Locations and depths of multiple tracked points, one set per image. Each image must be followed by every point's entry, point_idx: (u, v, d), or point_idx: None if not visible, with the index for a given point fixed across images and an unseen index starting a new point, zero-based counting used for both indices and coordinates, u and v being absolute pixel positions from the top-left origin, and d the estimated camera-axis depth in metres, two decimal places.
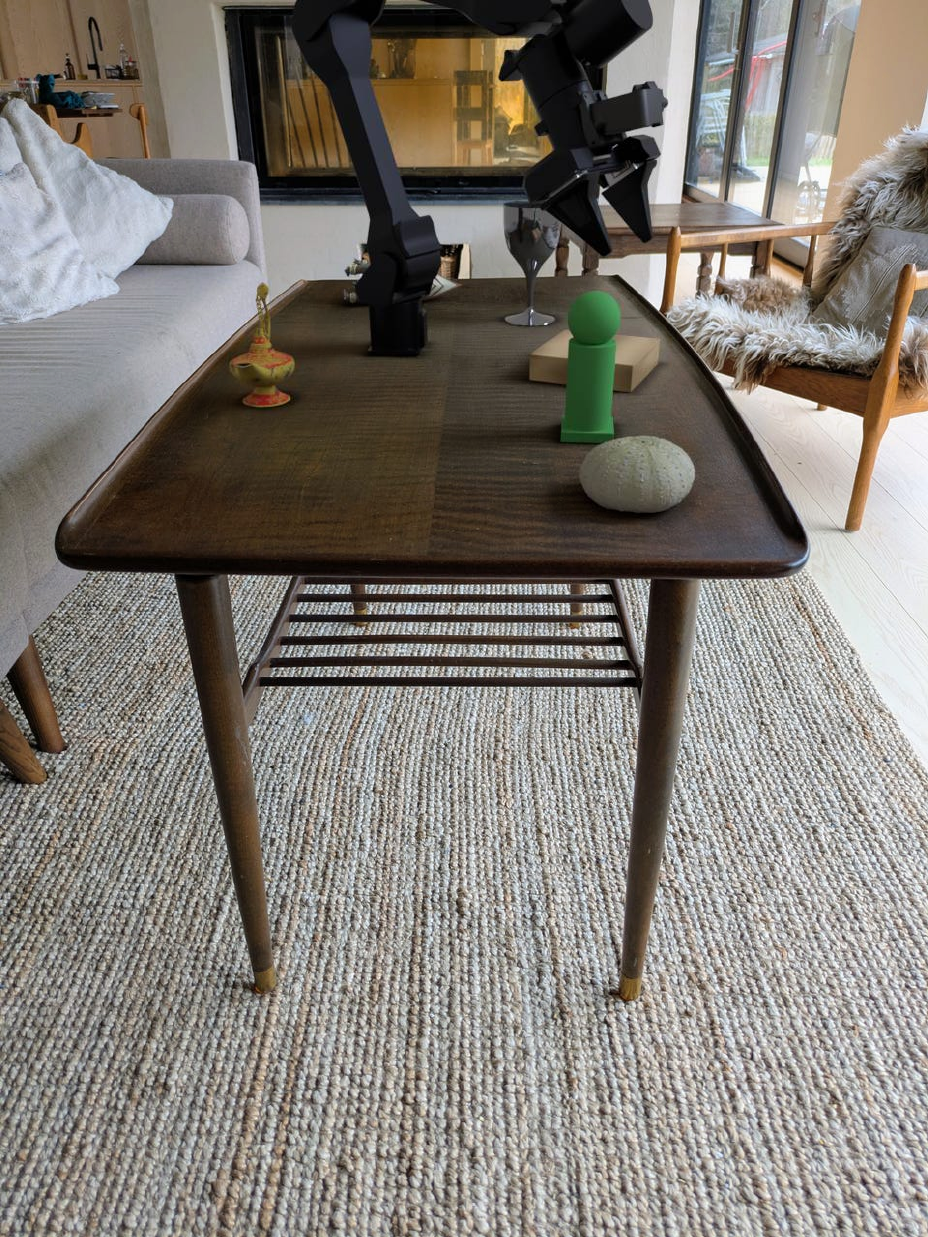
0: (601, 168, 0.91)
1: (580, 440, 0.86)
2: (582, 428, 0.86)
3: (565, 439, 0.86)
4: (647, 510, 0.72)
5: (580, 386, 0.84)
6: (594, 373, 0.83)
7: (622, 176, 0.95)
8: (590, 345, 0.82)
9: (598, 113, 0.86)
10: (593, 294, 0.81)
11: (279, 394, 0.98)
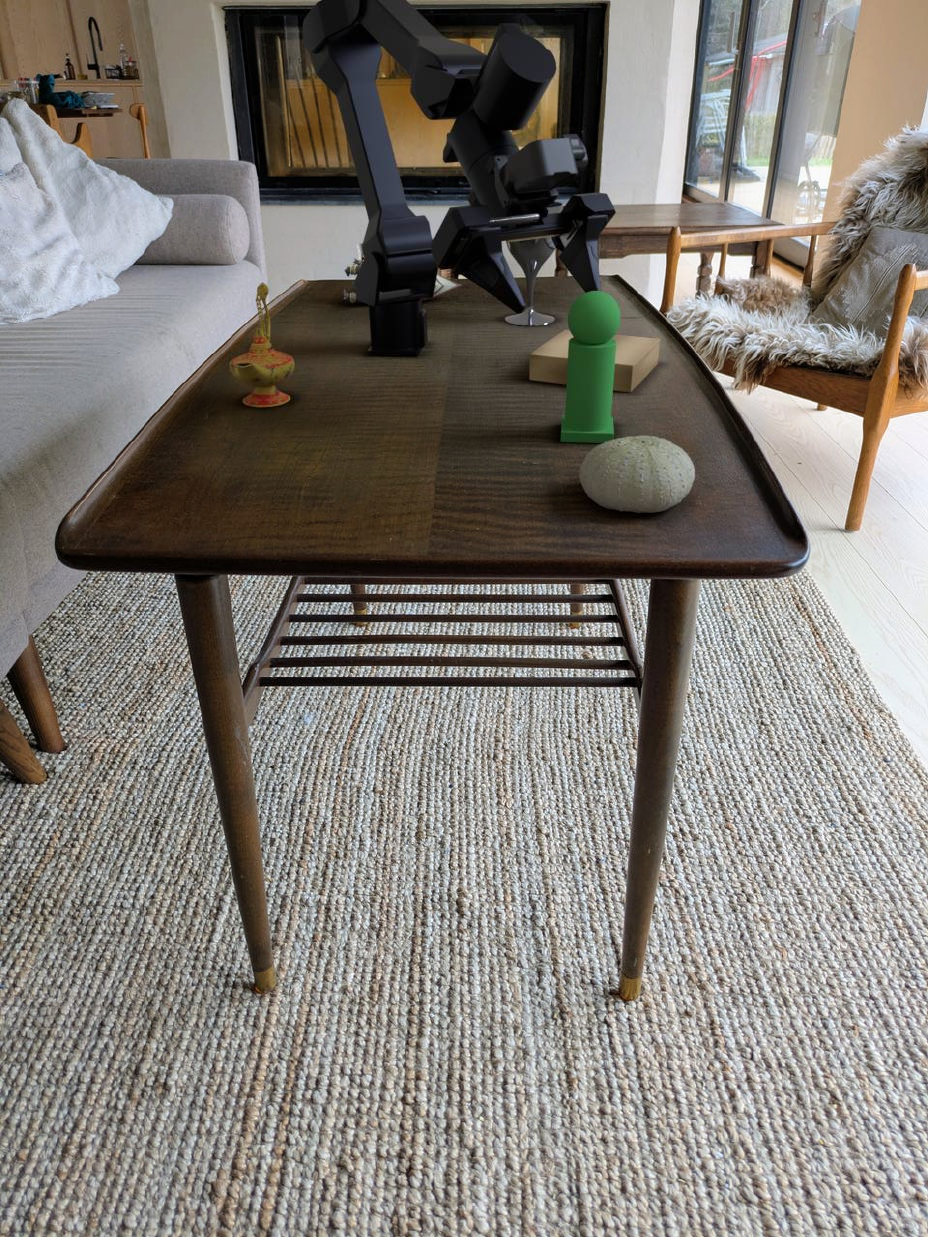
0: (532, 229, 0.87)
1: (580, 440, 0.86)
2: (582, 428, 0.86)
3: (565, 439, 0.86)
4: (647, 510, 0.72)
5: (580, 386, 0.84)
6: (594, 373, 0.83)
7: (573, 236, 0.90)
8: (590, 345, 0.82)
9: (506, 172, 0.83)
10: (593, 294, 0.81)
11: (279, 394, 0.98)
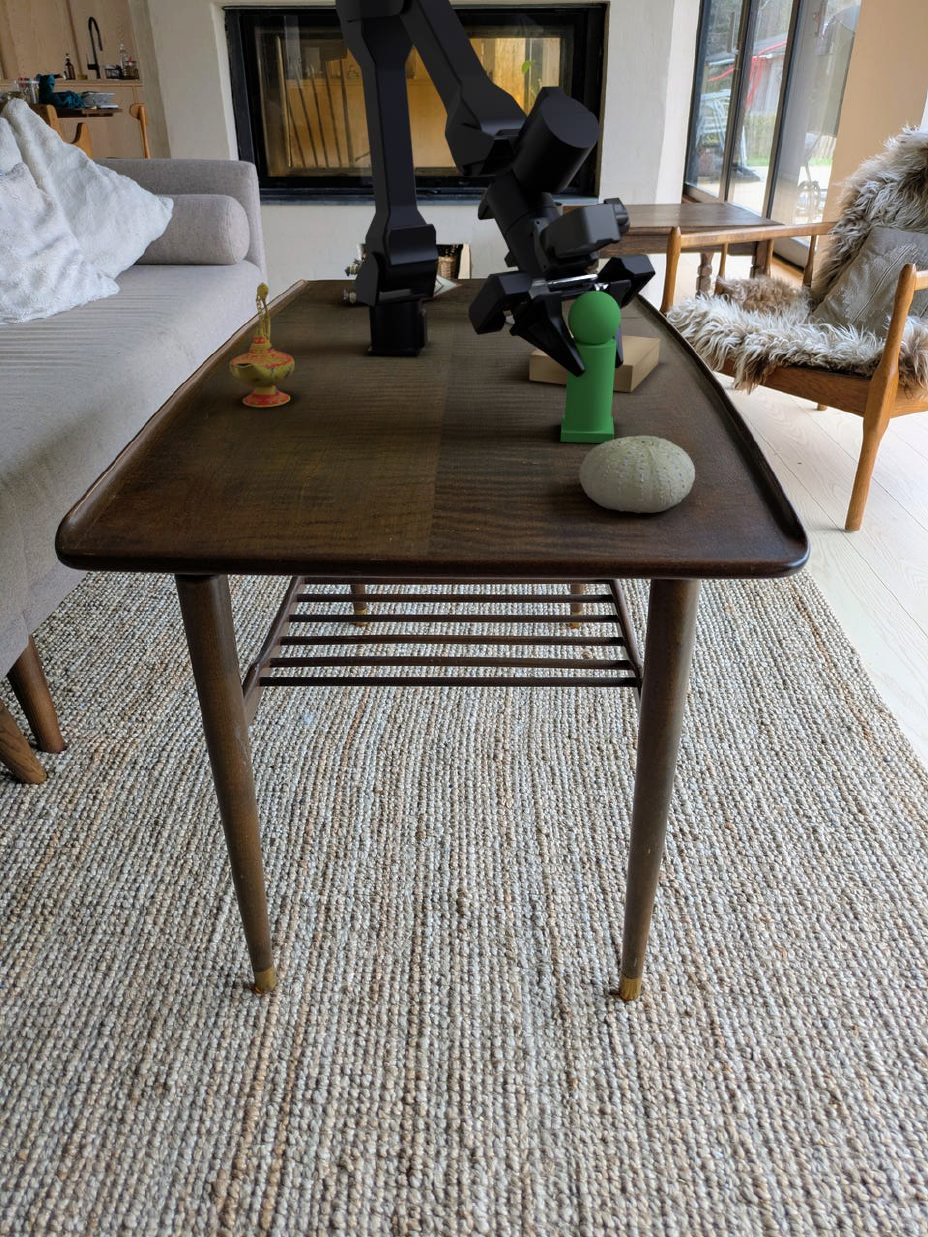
0: (571, 292, 0.85)
1: (580, 440, 0.86)
2: (582, 428, 0.86)
3: (565, 439, 0.86)
4: (647, 510, 0.72)
5: (580, 386, 0.84)
6: (594, 373, 0.83)
7: None
8: (590, 345, 0.82)
9: (547, 237, 0.81)
10: (593, 294, 0.81)
11: (279, 394, 0.98)
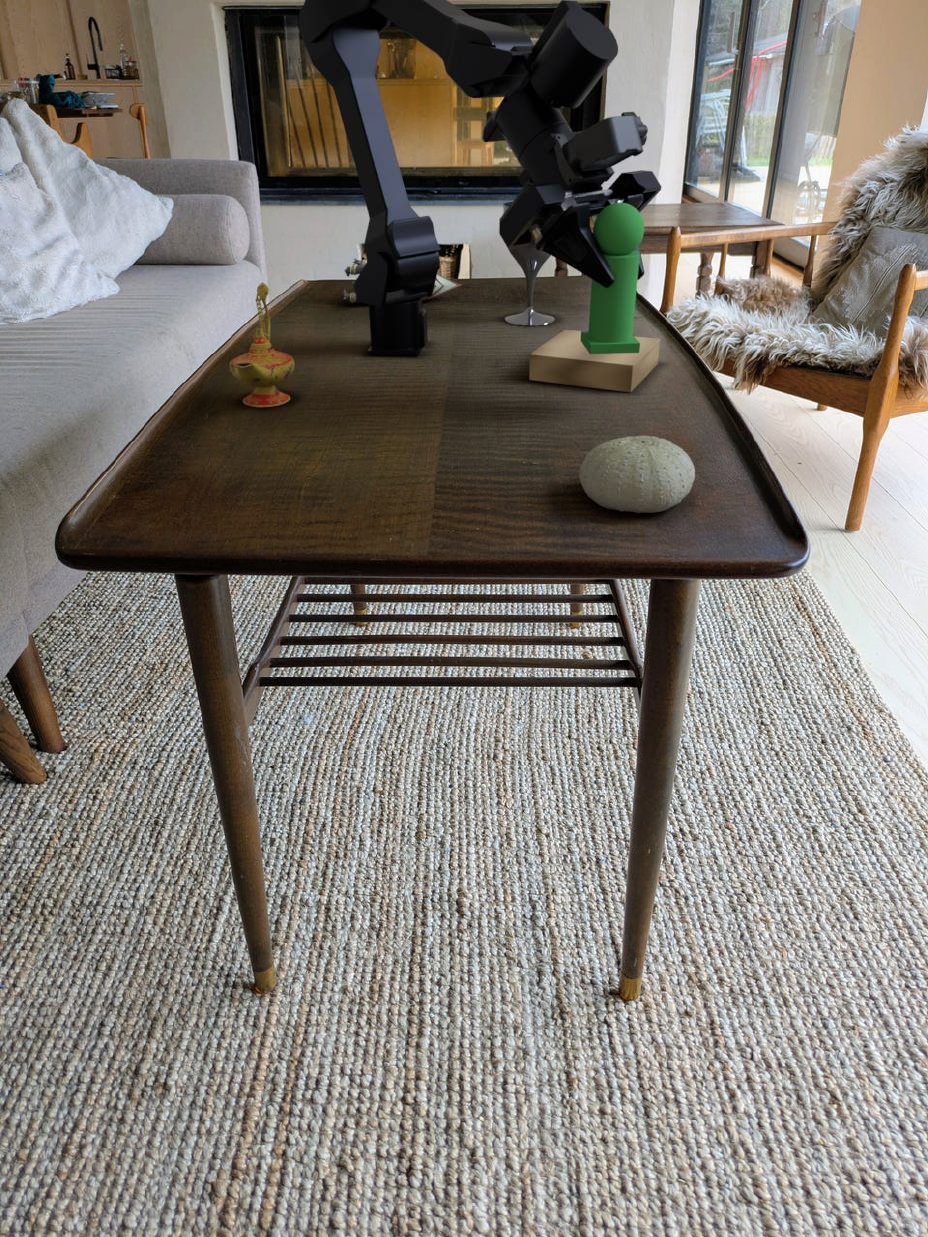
0: (590, 207, 0.88)
1: (608, 351, 0.89)
2: (610, 339, 0.89)
3: (594, 351, 0.89)
4: (647, 510, 0.72)
5: (609, 297, 0.87)
6: (622, 283, 0.86)
7: None
8: (618, 255, 0.85)
9: (571, 150, 0.83)
10: (620, 204, 0.84)
11: (279, 394, 0.98)
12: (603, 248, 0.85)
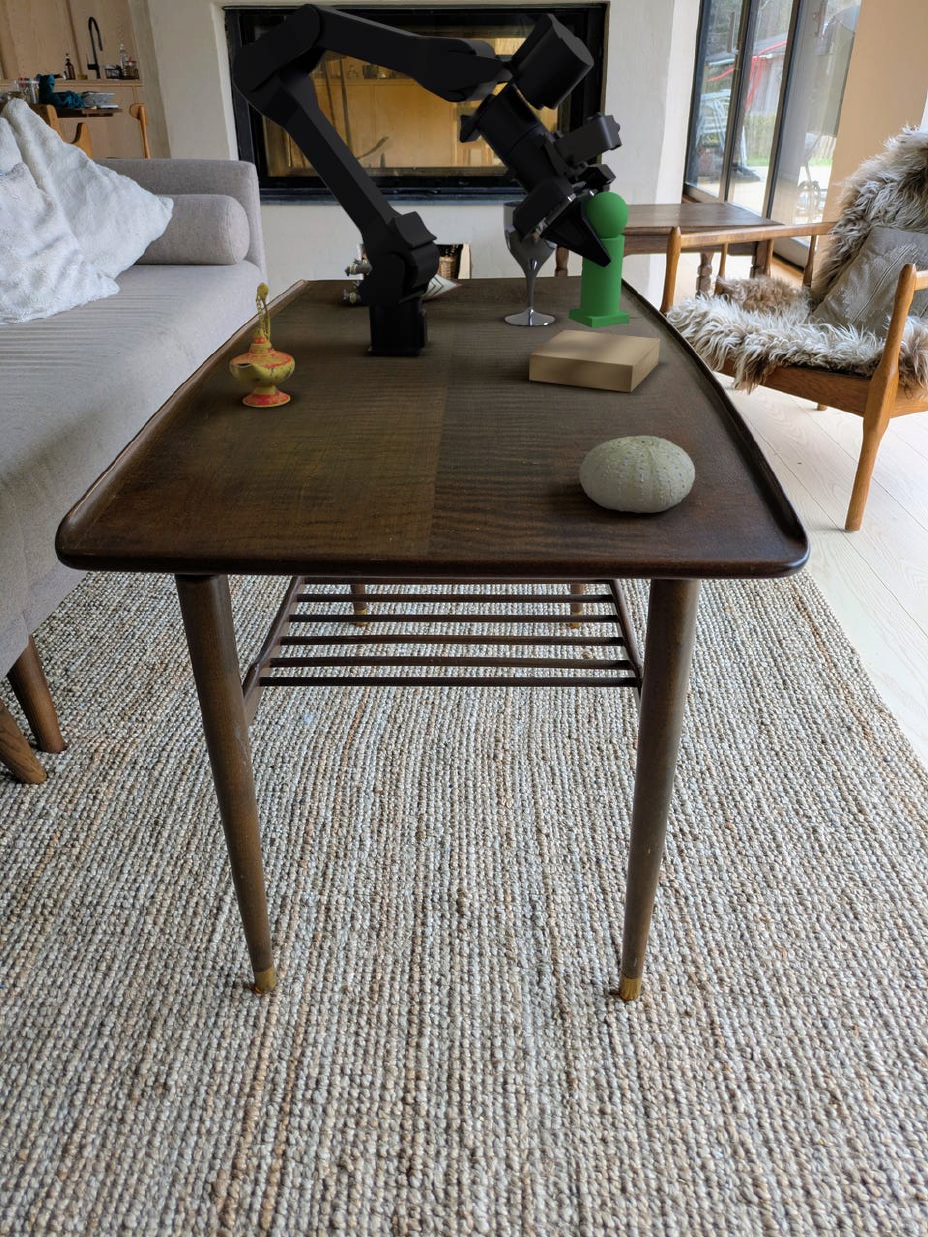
0: None
1: (606, 324, 1.01)
2: (606, 313, 1.00)
3: (595, 325, 1.00)
4: (647, 510, 0.72)
5: (605, 275, 0.98)
6: (616, 262, 0.98)
7: None
8: (611, 238, 0.97)
9: (564, 147, 0.93)
10: (609, 193, 0.95)
11: (279, 394, 0.98)
12: (598, 232, 0.97)
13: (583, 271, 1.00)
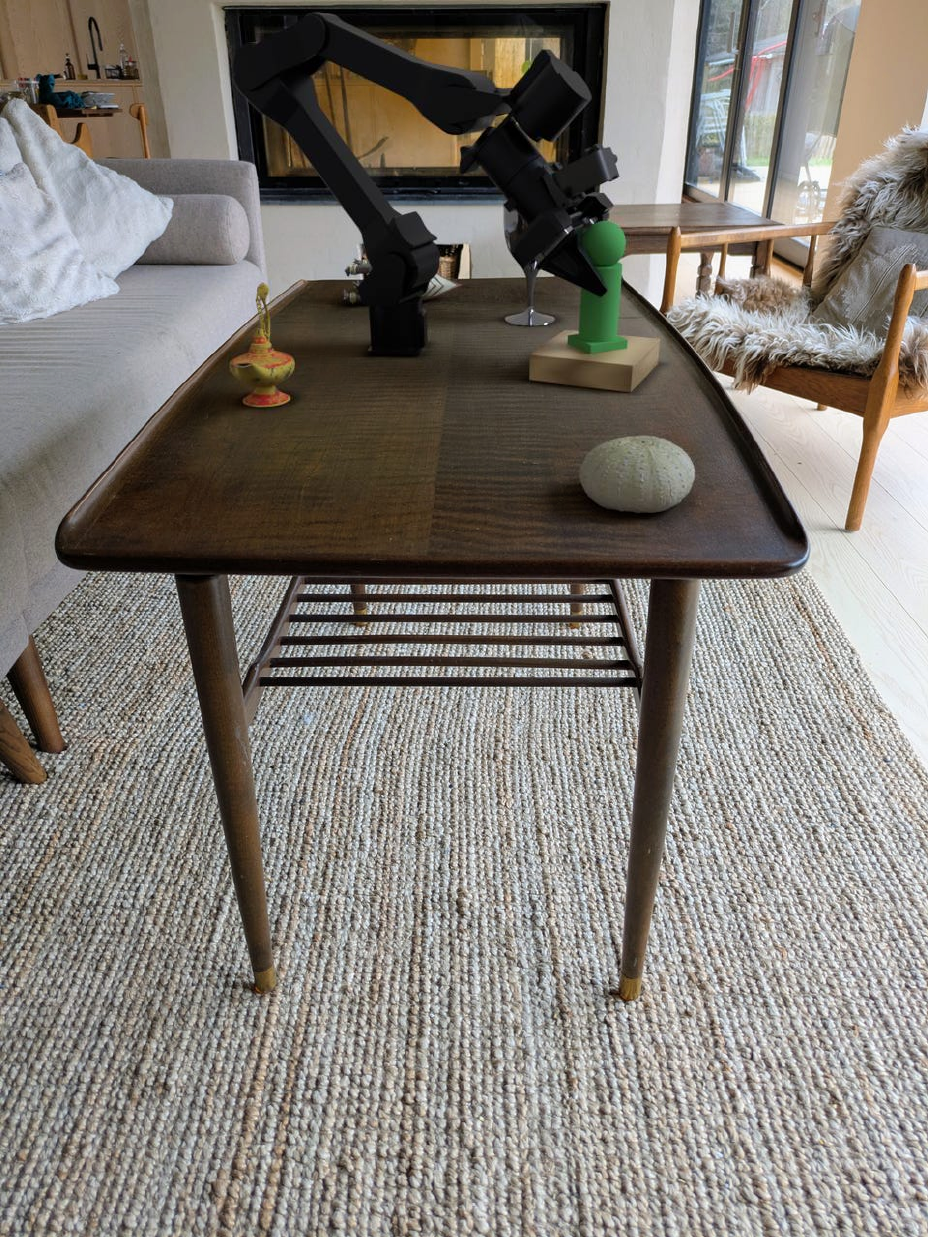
0: None
1: (604, 350, 1.02)
2: (604, 339, 1.02)
3: (593, 351, 1.02)
4: (647, 510, 0.72)
5: (603, 303, 1.00)
6: (614, 290, 1.00)
7: None
8: (609, 266, 0.99)
9: (562, 179, 0.95)
10: (607, 223, 0.97)
11: (279, 394, 0.98)
12: (596, 261, 0.98)
13: (581, 298, 1.01)
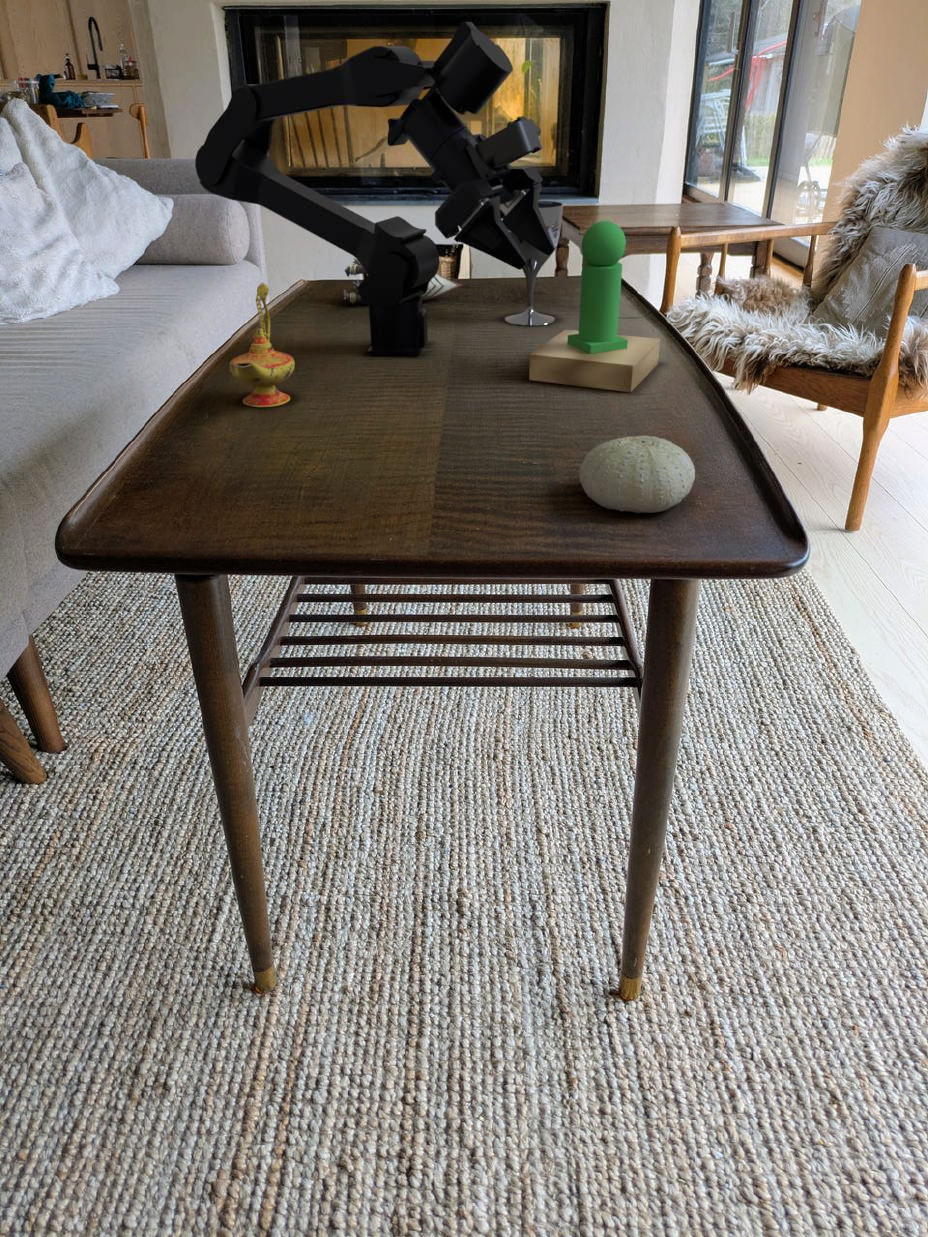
0: None
1: (604, 350, 1.02)
2: (604, 339, 1.02)
3: (593, 351, 1.02)
4: (647, 510, 0.72)
5: (603, 303, 1.00)
6: (614, 290, 1.00)
7: (514, 204, 1.06)
8: (609, 266, 0.99)
9: (485, 150, 0.97)
10: (607, 223, 0.97)
11: (279, 394, 0.98)
12: (596, 261, 0.98)
13: (581, 298, 1.01)
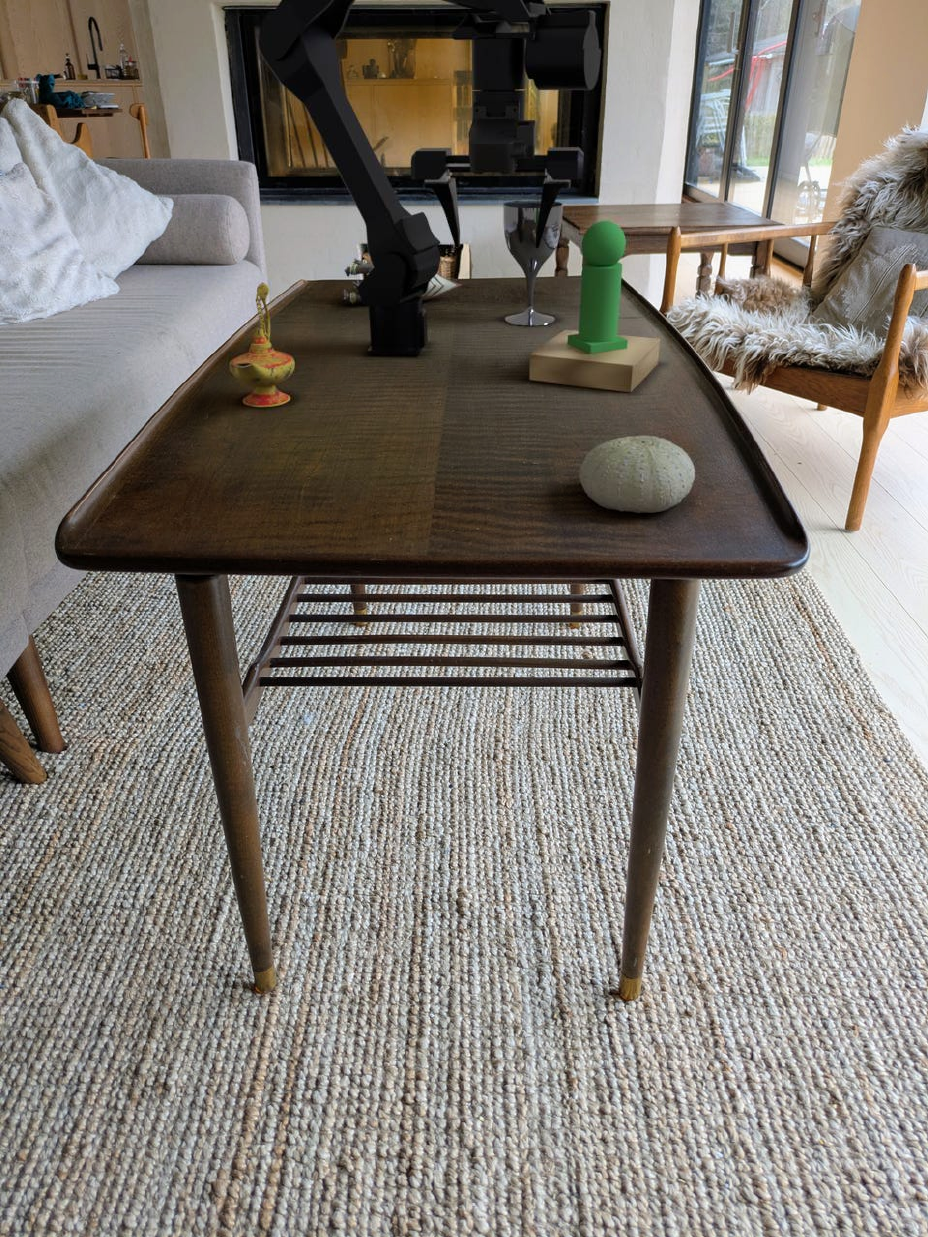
0: None
1: (604, 350, 1.02)
2: (604, 339, 1.02)
3: (593, 351, 1.02)
4: (647, 510, 0.72)
5: (603, 303, 1.00)
6: (614, 290, 1.00)
7: None
8: (609, 266, 0.99)
9: None
10: (607, 223, 0.97)
11: (279, 394, 0.98)
12: (596, 261, 0.98)
13: (581, 298, 1.01)
